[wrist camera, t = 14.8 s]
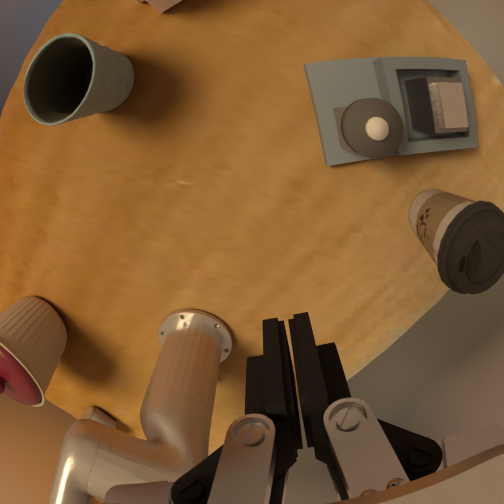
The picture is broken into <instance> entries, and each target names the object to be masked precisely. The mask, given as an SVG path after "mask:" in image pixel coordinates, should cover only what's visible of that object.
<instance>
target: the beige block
mask: <svg viewBox="0 0 504 504" xmlns="http://www.w3.org/2000/svg"><path fill="white" fill-rule="evenodd" d="M404 84H405V89H406V94H407V100H408V105H409V111H410V117H411V124H412V129H415V130H420V131H426V132H431V133H447V132H463V131H467V127H468V119H467V112H466V104H465V98H464V92H463V86H462V83H460V78H445V77H424V78H417V79H411V80H405V81H404Z"/></svg>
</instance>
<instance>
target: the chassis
mask: <svg viewBox="0 0 504 504" xmlns="http://www.w3.org/2000/svg"><path fill="white" fill-rule="evenodd" d="M304 69H305V73H306V77H307V81H308V85H309V89H310V93H311V97H312V101H313V106H314V110H315V115H316V119H317V124H318V129H319V134H320V138H321V143H322V149H323V154H324V159H325V164H326V165H327V166H332V165H337V164H343V163H349V162H355V161H361V160H368V159H372V158H368V157H365V156H363V155H361V154H359V153H357V152H355V151H353V150H352V149H351V148H350V147H349V146H348V145H347V143H346V142H345V140H344V138H343V136H342V132H341V118H342V115H343V113H344V111H345V109H346V108H347V107H348V106H349V105H350V104H351V103H353V102H354V101H356V100H359V99H365V98H379V99H382V100H385V101H387V102H388V103H390V104H391V105H392V106H393V107H394V108H395V109H396V110H397V111H398V113H399V115H400V117H401V119H402V122H403V129H404V130H403V138H402V141H401V144H400V146H399V147H398V149H397V150H396V151H395V152H394V153H393V154H391V155H390V156H395V155H398V156H403V155H410V154H418V153H427V152H435V151H445V150H455V149H466V148H478V141H477V130H476V120H475V112H474V105H473V98H472V92H471V86H470V80H469V75H468V70H467V66H466V61H465V60H458V59H450V58H435V57H371V58H355V59H343V60H333V61H324V62H316V63H308V64H305V65H304ZM424 77H445V78H460V83H462V86H463V92H464V98H465V104H466V112H467V119H468V127H467V131H463V132H447V133H431V132H426V131H420V130H415V129H412V124H411V117H410V111H409V105H408V100H407V94H406V89H405V84H404V81H405V80H411V79H417V78H424Z"/></svg>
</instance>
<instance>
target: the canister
mask: <svg viewBox="0 0 504 504" xmlns="http://www.w3.org/2000/svg"><path fill="white" fill-rule="evenodd" d="M66 343H67V330H66V327H65V325H64V322H63V321H62V318H61V317H60V315H59V314H58V313H57V311H55V310H54V308H53V307H51V305H50V304H48V303H47V302H45V301H44V300H42V299H40V298H37V297H33V296H26V297H23V298H21V299H19V300H18V301H16V302H15V303H13V304H12V305H11V306H9V307H8V308H7V309H5V310H4V311H3V312H2V313H0V394H1V393H3V392H4V393H5V394H6V395H8V396H9V397H11V398H12V399H14V400H16V401H18V402H20V403H22V404H25V405H31V406H36V407H39V406H42V405H43V404H44V403H45V392H46V390H47V388H48V386H49V383H50V381H51V379H52V376H53V374H54V372H55V370H56V367H57V365H58V363H59V361H60V358H61V356H62V354H63V351H64V349H65V346H66Z"/></svg>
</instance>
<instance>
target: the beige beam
mask: <svg viewBox="0 0 504 504" xmlns="http://www.w3.org/2000/svg"><path fill="white" fill-rule="evenodd" d="M137 1H139V2H140V3H144V2H148V3H149V4H150V5H151V6H153V7H154V8H155V9H156V10H157V11H158V12H159V13H160V14H162V13H164V11H166V10H167V9H169V8H170V7H172V6H174V5H175V4H177V3H179V2H180V1H182V0H137Z"/></svg>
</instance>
